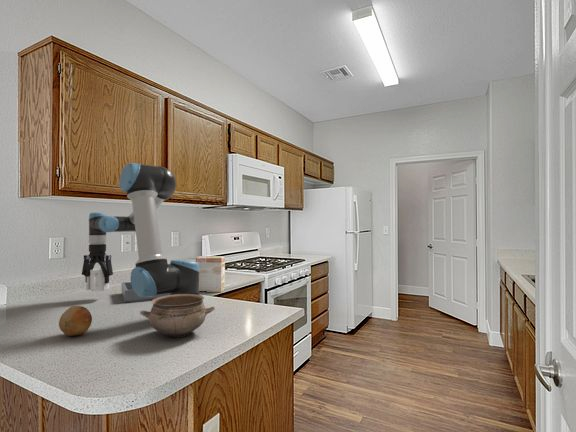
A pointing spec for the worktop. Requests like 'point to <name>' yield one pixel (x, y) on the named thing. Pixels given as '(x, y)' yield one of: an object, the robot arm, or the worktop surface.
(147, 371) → the worktop surface
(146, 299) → the box
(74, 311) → the onion
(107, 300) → the worktop surface
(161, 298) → the cooking pot
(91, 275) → the mug
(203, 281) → the coffeecake box
